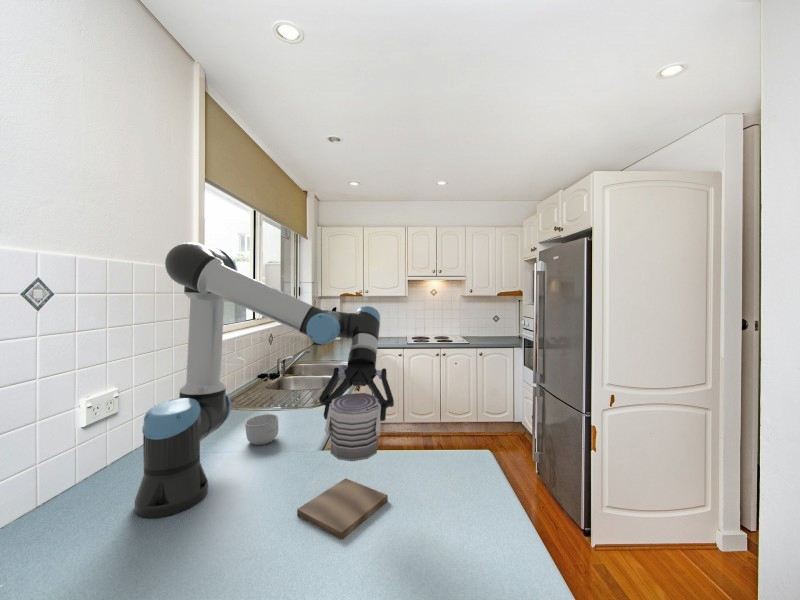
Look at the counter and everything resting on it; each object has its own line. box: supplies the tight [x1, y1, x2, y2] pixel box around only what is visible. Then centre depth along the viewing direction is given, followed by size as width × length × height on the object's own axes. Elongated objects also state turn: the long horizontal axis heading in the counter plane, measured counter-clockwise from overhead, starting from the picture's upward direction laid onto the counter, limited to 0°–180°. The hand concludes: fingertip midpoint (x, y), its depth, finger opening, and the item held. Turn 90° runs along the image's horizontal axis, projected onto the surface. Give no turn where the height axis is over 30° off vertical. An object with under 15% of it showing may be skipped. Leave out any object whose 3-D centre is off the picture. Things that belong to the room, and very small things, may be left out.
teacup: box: [244, 412, 279, 446], centre depth 120 cm, size 14×11×8 cm
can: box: [330, 392, 379, 462], centre depth 80 cm, size 11×11×12 cm
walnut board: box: [296, 478, 389, 540], centre depth 80 cm, size 16×14×2 cm
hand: (352, 433), depth 77 cm, fingers closed on can, 11 cm apart
